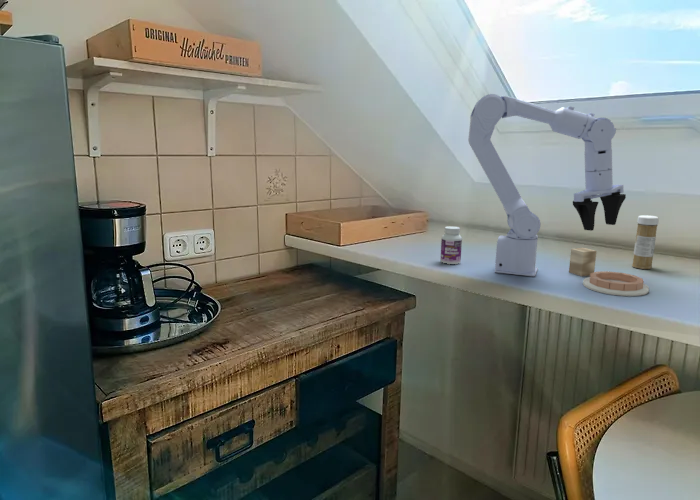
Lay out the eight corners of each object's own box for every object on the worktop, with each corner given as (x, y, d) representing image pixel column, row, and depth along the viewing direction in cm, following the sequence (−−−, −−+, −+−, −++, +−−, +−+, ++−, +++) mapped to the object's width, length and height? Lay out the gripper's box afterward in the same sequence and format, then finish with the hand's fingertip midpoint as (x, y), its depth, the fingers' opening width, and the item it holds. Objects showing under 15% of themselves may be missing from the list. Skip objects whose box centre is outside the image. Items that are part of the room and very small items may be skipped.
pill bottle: (444, 265, 129) (445, 229, 127) (437, 260, 134) (439, 226, 132) (463, 264, 130) (465, 228, 128) (456, 260, 135) (458, 225, 133)
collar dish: (582, 291, 107) (583, 281, 106) (583, 276, 118) (584, 267, 118) (651, 299, 101) (653, 288, 101) (645, 283, 113) (647, 273, 112)
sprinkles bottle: (638, 264, 130) (644, 214, 127) (655, 268, 126) (662, 216, 123) (627, 266, 128) (634, 215, 125) (645, 270, 124) (652, 217, 121)
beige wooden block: (581, 276, 119) (583, 252, 118) (568, 272, 123) (571, 248, 121) (594, 274, 120) (596, 250, 119) (581, 270, 124) (583, 247, 123)
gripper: (591, 174, 108) (593, 234, 111) (635, 165, 114) (635, 223, 117) (565, 174, 115) (567, 231, 117) (608, 166, 121) (609, 221, 123)
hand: (599, 227), depth 118 cm, fingers open, 7 cm apart
